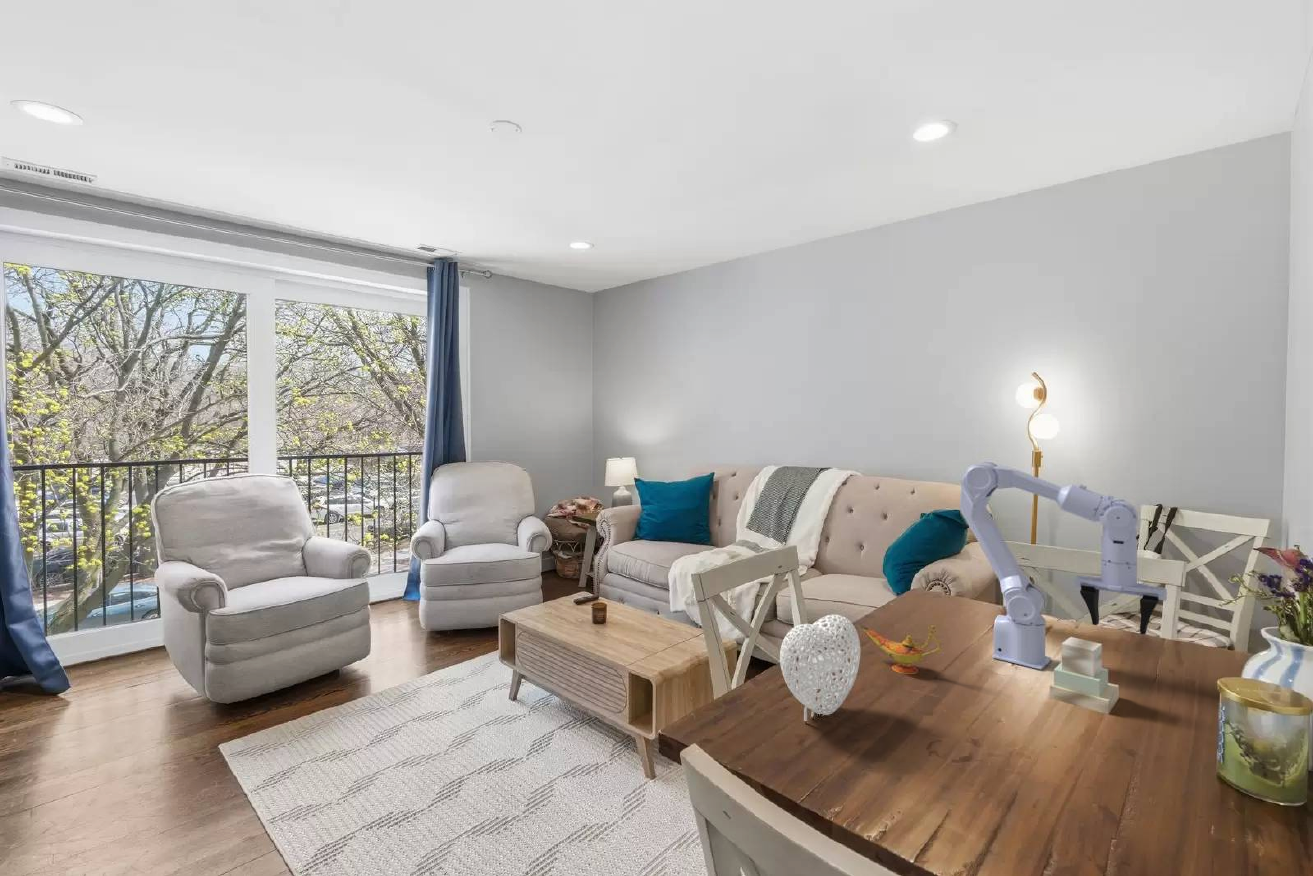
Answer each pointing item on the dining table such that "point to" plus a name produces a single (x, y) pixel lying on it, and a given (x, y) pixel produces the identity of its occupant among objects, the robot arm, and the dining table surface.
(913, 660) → the magic lamp
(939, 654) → the dining table surface
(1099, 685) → the sage block
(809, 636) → the decorative heart
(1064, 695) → the birch slab
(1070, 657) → the ivory cube
